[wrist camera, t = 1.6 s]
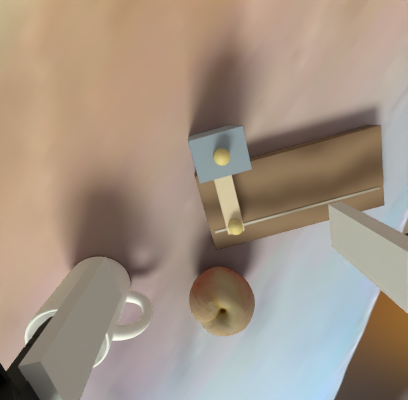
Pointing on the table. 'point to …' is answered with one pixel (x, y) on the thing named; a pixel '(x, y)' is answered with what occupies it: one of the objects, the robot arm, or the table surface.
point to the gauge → (222, 167)
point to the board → (301, 185)
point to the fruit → (222, 301)
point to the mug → (114, 328)
